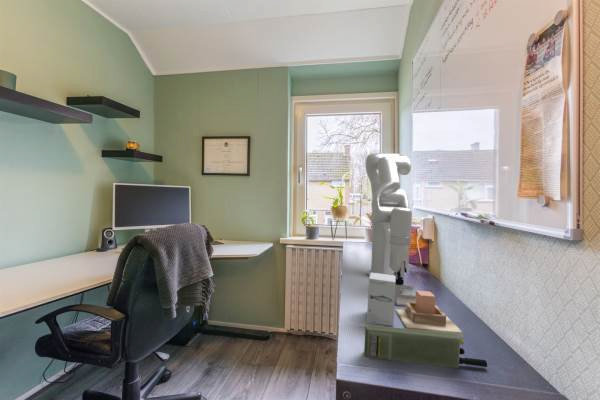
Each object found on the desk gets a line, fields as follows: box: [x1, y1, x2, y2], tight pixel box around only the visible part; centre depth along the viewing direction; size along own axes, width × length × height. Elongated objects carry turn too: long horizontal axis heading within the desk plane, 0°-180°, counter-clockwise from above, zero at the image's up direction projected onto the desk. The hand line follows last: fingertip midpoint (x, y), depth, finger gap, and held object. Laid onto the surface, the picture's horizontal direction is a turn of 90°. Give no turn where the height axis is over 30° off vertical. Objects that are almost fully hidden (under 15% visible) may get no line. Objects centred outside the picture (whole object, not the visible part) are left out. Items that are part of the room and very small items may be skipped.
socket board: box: [395, 302, 464, 336], centre depth 75 cm, size 12×14×4 cm
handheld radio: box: [363, 324, 488, 369], centre depth 57 cm, size 7×3×25 cm
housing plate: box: [394, 284, 416, 307], centre depth 90 cm, size 8×7×4 cm
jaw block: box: [415, 290, 436, 314], centre depth 76 cm, size 4×4×7 cm
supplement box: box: [366, 272, 396, 327], centre depth 76 cm, size 7×7×13 cm
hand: (398, 289), depth 99 cm, fingers closed
